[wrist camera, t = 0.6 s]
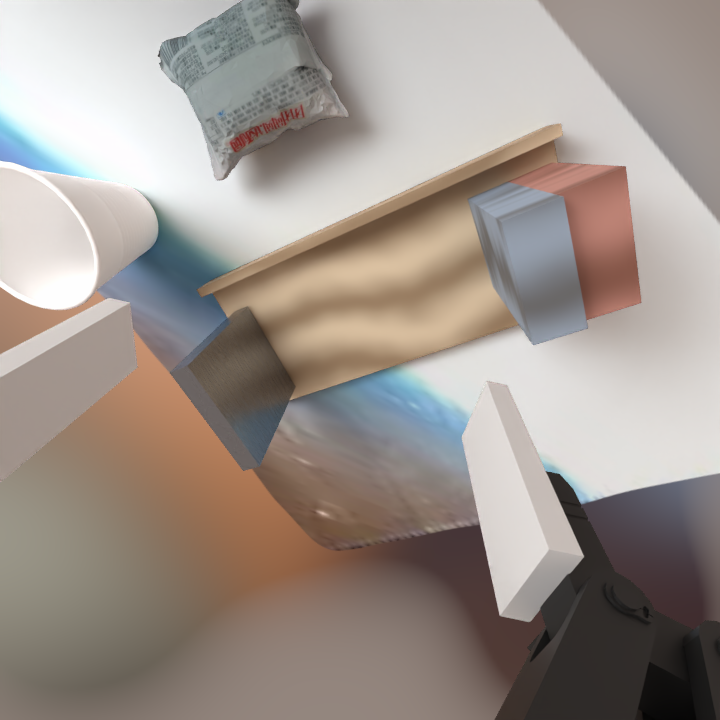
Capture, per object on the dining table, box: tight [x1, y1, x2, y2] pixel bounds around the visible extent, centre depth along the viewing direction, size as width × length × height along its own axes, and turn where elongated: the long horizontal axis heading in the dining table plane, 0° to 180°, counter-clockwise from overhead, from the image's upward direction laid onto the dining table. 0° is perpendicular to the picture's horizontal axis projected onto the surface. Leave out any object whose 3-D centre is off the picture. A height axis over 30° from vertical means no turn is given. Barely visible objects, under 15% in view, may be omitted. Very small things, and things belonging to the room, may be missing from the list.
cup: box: [0, 161, 159, 310], centre depth 31 cm, size 10×10×11 cm
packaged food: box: [158, 0, 349, 180], centre depth 27 cm, size 9×12×5 cm
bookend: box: [170, 306, 296, 471], centre depth 34 cm, size 10×2×12 cm, turn 24°
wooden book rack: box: [197, 123, 641, 400], centre depth 31 cm, size 15×32×13 cm, turn 114°
